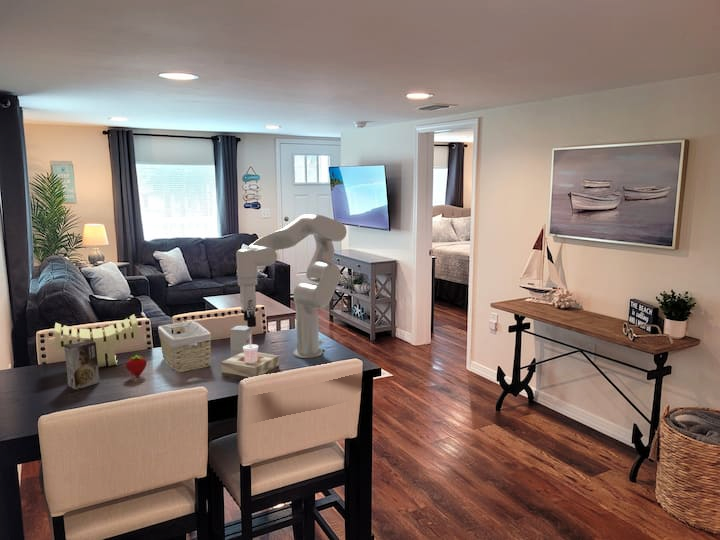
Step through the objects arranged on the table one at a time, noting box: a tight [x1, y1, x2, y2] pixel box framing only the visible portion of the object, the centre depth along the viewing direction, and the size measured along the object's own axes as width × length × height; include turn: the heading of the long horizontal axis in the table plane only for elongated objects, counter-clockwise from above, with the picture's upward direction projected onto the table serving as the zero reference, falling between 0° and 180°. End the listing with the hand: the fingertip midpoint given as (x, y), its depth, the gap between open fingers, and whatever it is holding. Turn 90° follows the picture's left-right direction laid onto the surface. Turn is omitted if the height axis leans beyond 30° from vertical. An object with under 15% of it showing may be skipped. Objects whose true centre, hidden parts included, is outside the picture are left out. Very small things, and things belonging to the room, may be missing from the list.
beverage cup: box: [243, 334, 259, 363], centre depth 210 cm, size 6×6×14 cm
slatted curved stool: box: [53, 313, 140, 368], centre depth 220 cm, size 30×16×18 cm, turn 118°
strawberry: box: [125, 354, 148, 378], centre depth 205 cm, size 6×8×10 cm
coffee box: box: [63, 339, 101, 390], centre depth 197 cm, size 9×6×16 cm
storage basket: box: [157, 320, 212, 373], centre depth 221 cm, size 24×16×15 cm
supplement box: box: [229, 325, 253, 358], centre depth 230 cm, size 7×7×13 cm
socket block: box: [220, 352, 280, 380], centre depth 211 cm, size 16×16×6 cm
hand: (250, 323), depth 208 cm, fingers open, 9 cm apart
